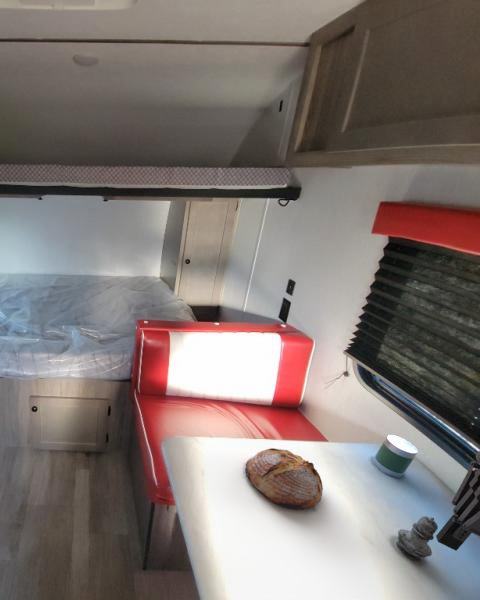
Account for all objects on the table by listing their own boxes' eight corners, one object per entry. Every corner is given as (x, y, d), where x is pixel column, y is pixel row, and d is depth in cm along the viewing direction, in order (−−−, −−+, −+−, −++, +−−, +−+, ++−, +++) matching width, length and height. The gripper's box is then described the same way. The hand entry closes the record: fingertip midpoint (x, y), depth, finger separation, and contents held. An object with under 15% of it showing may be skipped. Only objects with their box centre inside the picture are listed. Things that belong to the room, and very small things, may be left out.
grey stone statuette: (401, 560, 76) (427, 526, 72) (385, 535, 81) (409, 501, 77) (430, 569, 75) (459, 534, 70) (413, 543, 80) (438, 509, 76)
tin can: (407, 477, 100) (424, 452, 96) (389, 479, 98) (406, 454, 94) (383, 458, 106) (398, 433, 102) (366, 459, 104) (380, 435, 101)
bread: (333, 511, 87) (351, 486, 83) (268, 517, 83) (283, 492, 79) (288, 457, 102) (302, 433, 97) (231, 460, 98) (243, 436, 93)
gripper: (474, 425, 65) (414, 508, 74) (503, 468, 55) (429, 558, 64) (530, 445, 61) (460, 529, 70) (573, 495, 51) (484, 586, 60)
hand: (446, 543), depth 67 cm, fingers closed
